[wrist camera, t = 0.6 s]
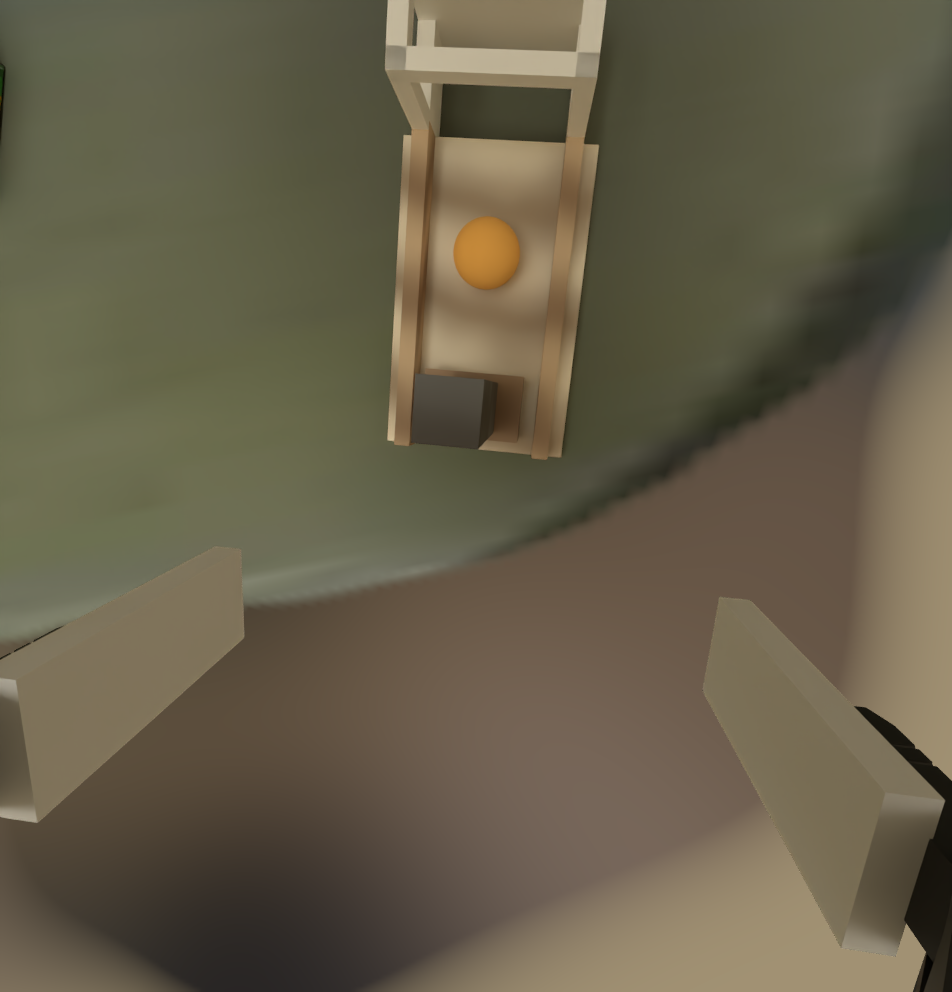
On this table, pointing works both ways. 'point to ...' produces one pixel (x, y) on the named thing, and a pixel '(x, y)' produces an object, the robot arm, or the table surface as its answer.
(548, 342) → the tray
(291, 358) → the table surface
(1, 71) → the chalk box
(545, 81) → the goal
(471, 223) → the ball
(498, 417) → the sled
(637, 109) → the table surface
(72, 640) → the robot arm
